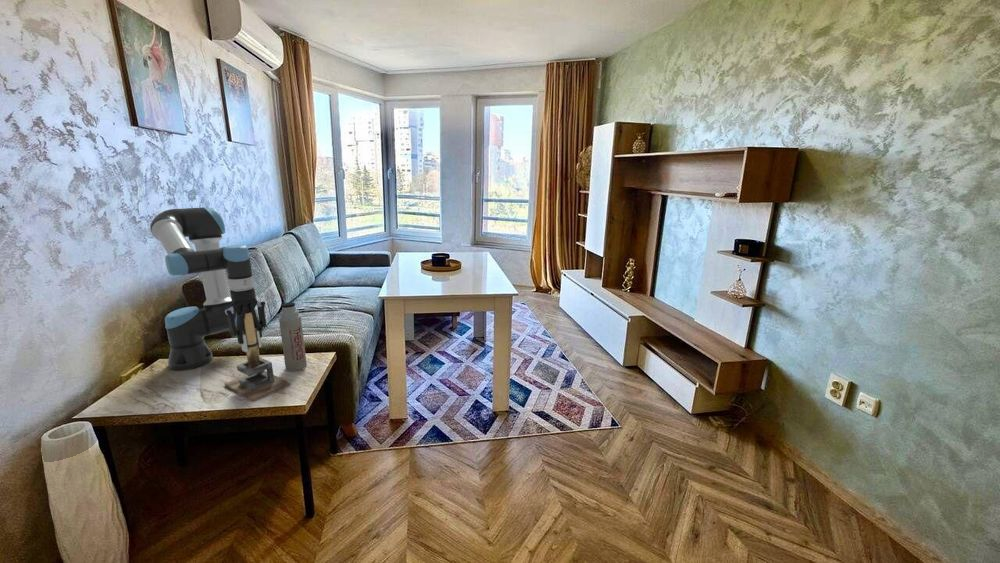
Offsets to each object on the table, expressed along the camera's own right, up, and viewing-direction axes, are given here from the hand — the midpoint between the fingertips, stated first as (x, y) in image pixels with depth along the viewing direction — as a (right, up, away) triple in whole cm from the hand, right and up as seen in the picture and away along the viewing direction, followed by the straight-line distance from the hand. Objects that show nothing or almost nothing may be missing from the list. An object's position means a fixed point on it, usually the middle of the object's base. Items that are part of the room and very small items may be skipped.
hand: (251, 348), depth 152 cm
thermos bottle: (+7, -11, +19) cm, 23 cm away
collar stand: (0, -15, +4) cm, 15 cm away
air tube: (0, -7, +2) cm, 8 cm away
